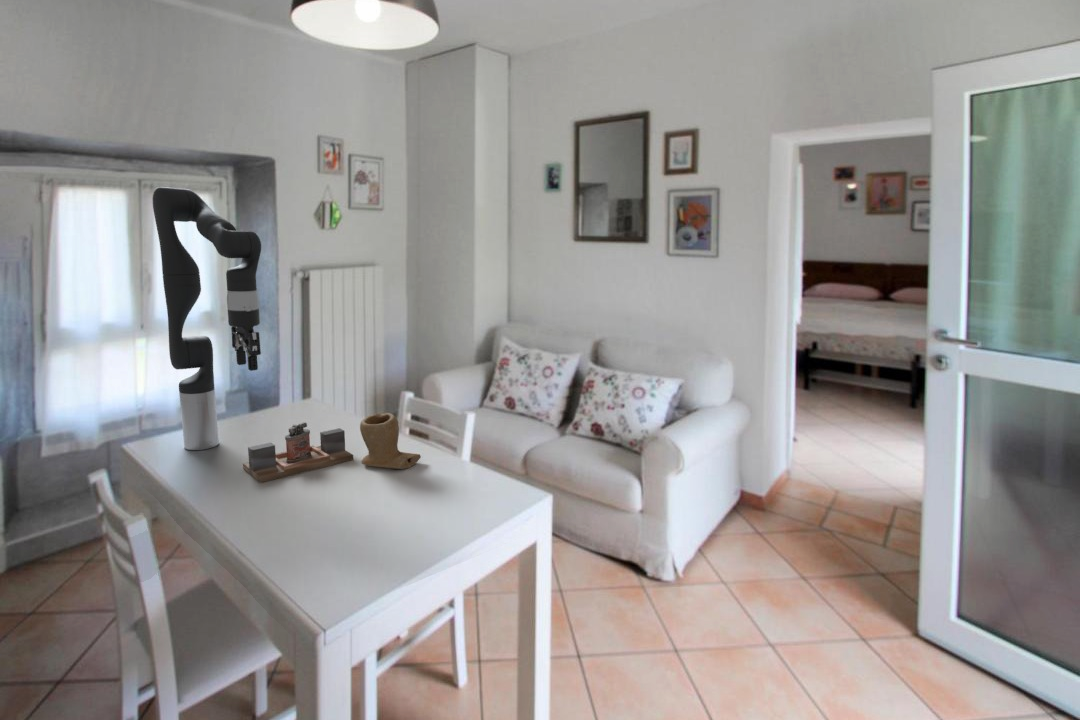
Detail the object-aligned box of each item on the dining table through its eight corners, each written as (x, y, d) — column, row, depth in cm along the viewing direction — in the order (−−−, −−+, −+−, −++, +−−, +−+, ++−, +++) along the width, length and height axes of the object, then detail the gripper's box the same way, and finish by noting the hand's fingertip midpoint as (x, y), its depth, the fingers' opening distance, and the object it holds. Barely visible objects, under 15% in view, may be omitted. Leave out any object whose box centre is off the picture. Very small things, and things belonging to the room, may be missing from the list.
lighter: (292, 464, 170) (290, 429, 168) (283, 462, 171) (281, 427, 169) (314, 455, 177) (312, 421, 175) (304, 453, 179) (303, 420, 177)
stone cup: (352, 470, 171) (350, 418, 168) (375, 455, 183) (373, 406, 180) (401, 477, 167) (400, 424, 164) (421, 462, 178) (421, 412, 175)
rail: (243, 468, 170) (241, 442, 169) (333, 447, 188) (332, 424, 187) (260, 482, 161) (259, 455, 160) (353, 459, 179) (352, 434, 177)
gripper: (219, 305, 166) (223, 364, 170) (237, 311, 156) (242, 374, 160) (248, 303, 171) (252, 361, 175) (268, 309, 161) (271, 370, 165)
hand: (247, 367), depth 167 cm, fingers open, 8 cm apart
